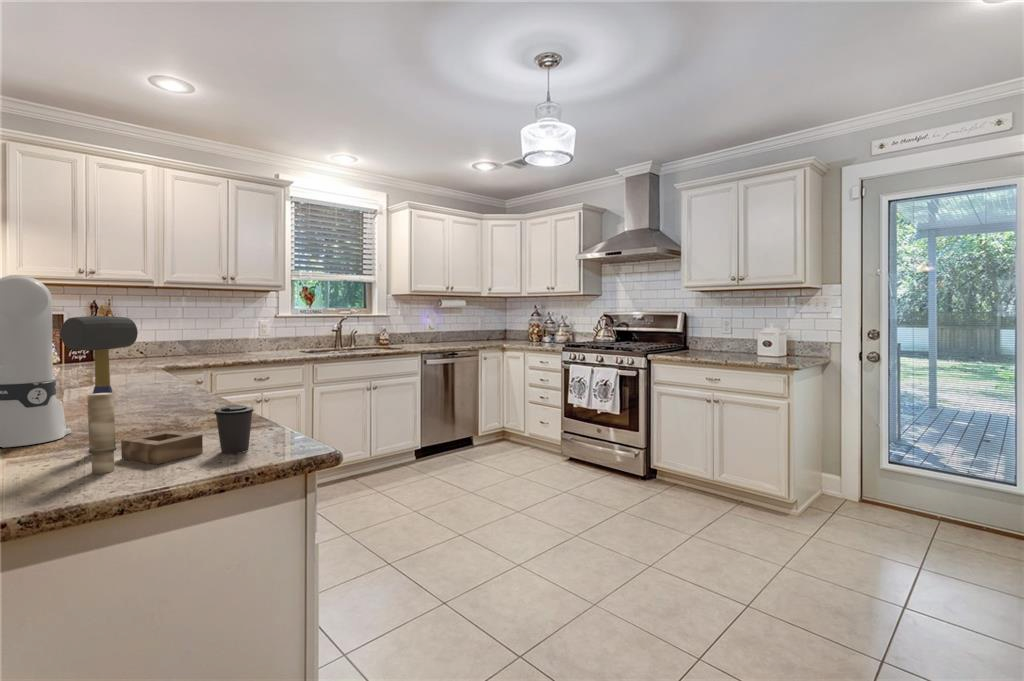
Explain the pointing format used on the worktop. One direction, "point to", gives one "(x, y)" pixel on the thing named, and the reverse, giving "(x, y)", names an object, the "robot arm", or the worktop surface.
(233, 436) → the coffee cup
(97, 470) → the beech peg
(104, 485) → the worktop surface
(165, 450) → the walnut socket board
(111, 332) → the rubber mallet
